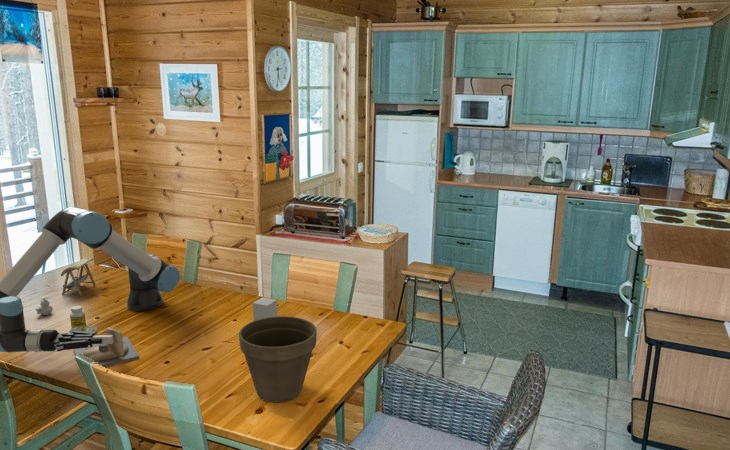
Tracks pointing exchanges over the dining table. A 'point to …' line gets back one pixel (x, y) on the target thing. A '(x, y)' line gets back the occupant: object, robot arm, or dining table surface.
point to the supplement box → (264, 308)
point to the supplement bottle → (77, 317)
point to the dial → (107, 347)
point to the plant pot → (278, 355)
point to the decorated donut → (85, 329)
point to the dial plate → (127, 356)
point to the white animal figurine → (44, 307)
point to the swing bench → (76, 280)
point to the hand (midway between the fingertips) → (112, 339)
